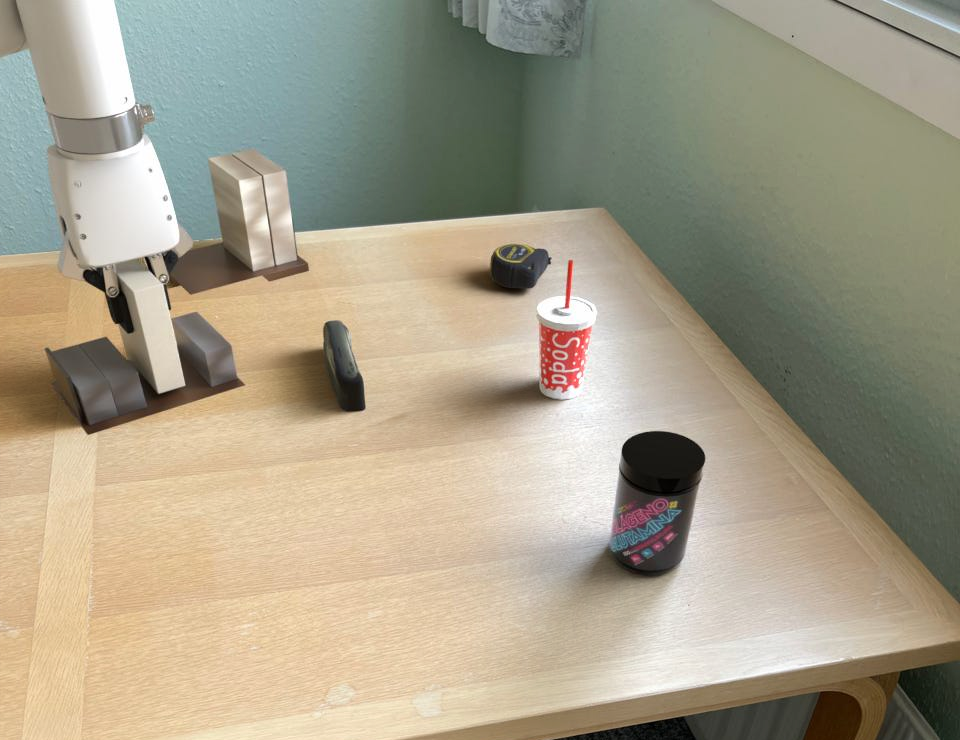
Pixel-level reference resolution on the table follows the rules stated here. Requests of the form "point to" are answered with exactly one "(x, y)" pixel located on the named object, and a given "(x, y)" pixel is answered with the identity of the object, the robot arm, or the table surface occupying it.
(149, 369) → the white book
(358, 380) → the black stapler
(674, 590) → the table surface
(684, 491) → the supplement container
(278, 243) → the bookend with slabs
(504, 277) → the tape measure
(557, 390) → the beverage cup
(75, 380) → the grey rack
